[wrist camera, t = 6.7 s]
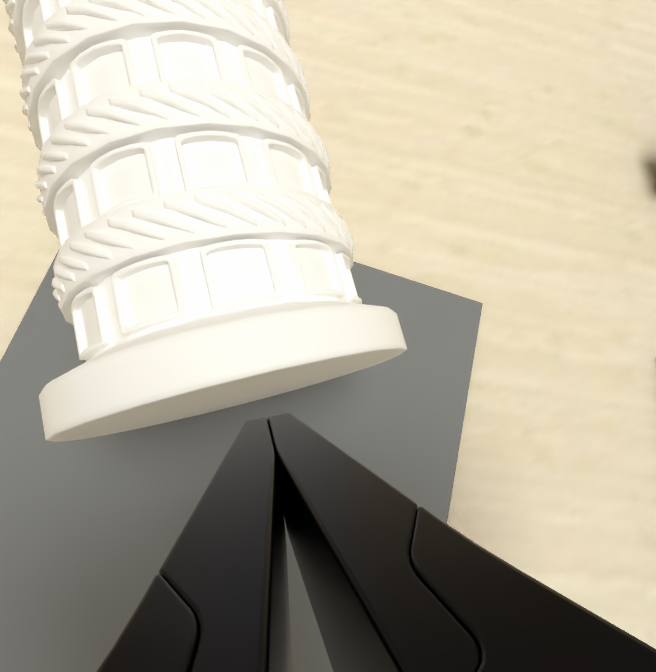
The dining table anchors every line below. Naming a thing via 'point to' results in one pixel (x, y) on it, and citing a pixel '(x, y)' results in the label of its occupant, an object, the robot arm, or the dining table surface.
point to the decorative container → (186, 212)
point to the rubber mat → (197, 473)
